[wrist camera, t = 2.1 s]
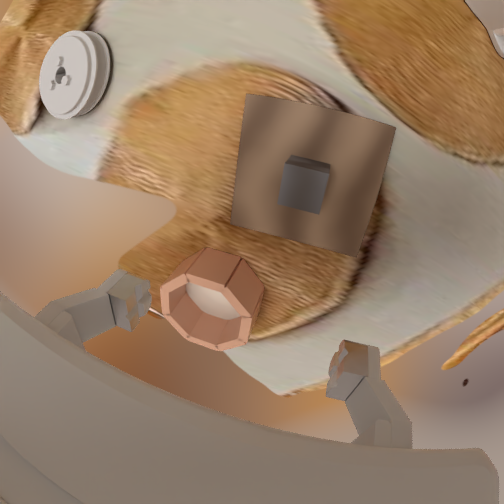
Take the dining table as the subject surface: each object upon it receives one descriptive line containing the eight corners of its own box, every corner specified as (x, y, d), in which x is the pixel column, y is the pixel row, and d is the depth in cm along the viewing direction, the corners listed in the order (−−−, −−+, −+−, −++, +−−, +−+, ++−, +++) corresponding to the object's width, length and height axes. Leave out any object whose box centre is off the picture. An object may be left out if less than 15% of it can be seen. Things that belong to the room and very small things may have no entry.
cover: (393, 126, 24) (404, 132, 20) (356, 252, 33) (357, 277, 28) (249, 93, 27) (232, 93, 23) (233, 220, 35) (217, 239, 31)
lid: (49, 96, 32) (25, 102, 28) (76, 23, 25) (50, 22, 21) (95, 128, 33) (69, 136, 29) (129, 45, 26) (102, 43, 22)
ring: (269, 264, 36) (256, 294, 31) (255, 329, 43) (243, 359, 38) (181, 240, 38) (158, 264, 33) (182, 305, 44) (164, 331, 39)
